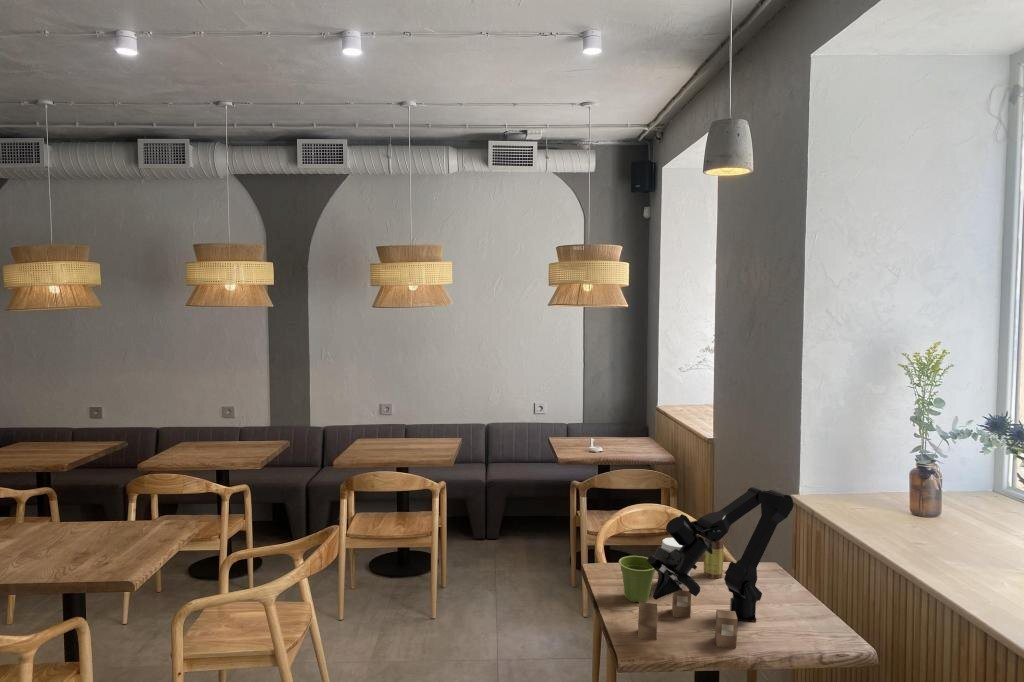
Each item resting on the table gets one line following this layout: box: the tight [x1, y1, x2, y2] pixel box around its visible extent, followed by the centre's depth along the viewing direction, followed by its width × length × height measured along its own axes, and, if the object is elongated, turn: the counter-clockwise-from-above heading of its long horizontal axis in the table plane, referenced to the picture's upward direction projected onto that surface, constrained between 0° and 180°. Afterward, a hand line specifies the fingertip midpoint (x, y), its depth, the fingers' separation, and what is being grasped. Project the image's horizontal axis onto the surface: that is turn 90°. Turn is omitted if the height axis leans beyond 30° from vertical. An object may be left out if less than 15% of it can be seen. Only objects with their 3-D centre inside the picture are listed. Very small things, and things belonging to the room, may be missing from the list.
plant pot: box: [618, 555, 656, 603], centre depth 224 cm, size 12×12×11 cm
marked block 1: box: [671, 585, 692, 618], centre depth 214 cm, size 5×5×8 cm
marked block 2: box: [714, 609, 739, 649], centre depth 197 cm, size 5×5×8 cm
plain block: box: [637, 602, 658, 641], centre depth 201 cm, size 5×5×8 cm
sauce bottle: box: [703, 537, 725, 579], centre depth 243 cm, size 6×6×20 cm
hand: (653, 598), depth 201 cm, fingers closed
